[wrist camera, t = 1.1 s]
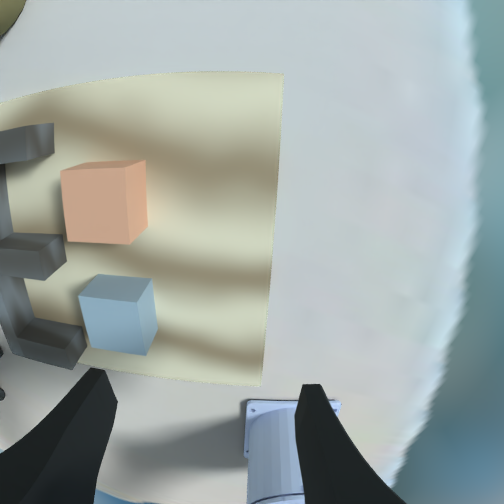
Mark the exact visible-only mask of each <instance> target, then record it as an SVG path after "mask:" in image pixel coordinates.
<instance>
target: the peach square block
mask: <svg viewBox="0 0 504 504" xmlns="http://www.w3.org/2000/svg"><path fill="white" fill-rule="evenodd" d="M60 177H61V190H62V200H63V209H64V218H65V225H66V233H67V239H68V241H70V242H89V243H107V244H126V245H130V244H131V243H132V242H133V241H134V240H135V239H136V238H137V237H138V236H139V235H140V234H141V233H142V232H143V231H144V230H145V229H146V228H147V227H148V218H147V197H146V160H123V161H100V162H86V163H82V164H79V165H76V166H73V167H70V168H67V169H64V170H61V171H60Z"/></svg>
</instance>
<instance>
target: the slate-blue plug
mask: <svg viewBox="0 0 504 504" xmlns="http://www.w3.org/2000/svg"><path fill="white" fill-rule="evenodd" d="M78 297H79V302H80V306H81V310H82V314H83V318H84V322H85V326H86V330H87V333H88V337H89V341H90V344H91V347H93V348H98V349H104V350H110V351H116V352H122V353H129V354H135V355H142V356H146V355H147V353H148V350H149V348H150V346H151V343H152V341H153V339H154V337H155V334H156V332H157V330H158V325H157V317H156V309H155V301H154V292H153V282H152V278H141V277H128V276H117V275H105V274H98V275H97V276H96V277H95V278H94V279H93V280H92V281H91V282H90V283H89V284H88V285H87V286H86V288H85V289H84V290H83V291H82V292H81V293H80V294H79V295H78Z"/></svg>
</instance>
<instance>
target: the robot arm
mask: <svg viewBox="0 0 504 504" xmlns="http://www.w3.org/2000/svg"><path fill="white" fill-rule="evenodd" d="M117 403H118V401H117V399H116V397H115V394H114V392H113V389H112V387H111V384H110V382H109V379H108V377H107V374H106V372H105V370H101V369H95V368H90V369H89V370H88V371H87V372H86V373H85V374H84V375H83V377H82V378H81V379H80V380H79V381H78V382H77V383H76V385H75V386H74V387H73V388H72V389H71V390H70V391H69V393H68V394H67V395H66V396H65V397H64V398H63V399H62V400H61V401H60V402H59V403H58V405H57V406H56V407H55V408H54V409H53V410H52V411H51V412H50V413H49V414H48V415H47V416H46V417H45V418H44V419H43V420H42V421H41V422H40V423H39V424H38V425H37V426H36V427H35V428H33V429H32V430H31V431H30V432H29V433H28V434H26V435H25V436H24V437H23V438H22V439H20V440H19V441H18V442H16V443H15V444H14V445H12V446H11V447H10V448H8V449H7V450H5V451H4V452H2V453H0V504H93V503H94V495H95V489H96V482H97V477H98V473H99V469H100V466H101V462H102V459H103V456H104V453H105V450H106V446H107V443H108V440H109V437H110V434H111V431H112V428H113V424H114V419H115V414H116V409H117ZM340 408H341V402H340V401H329V400H328V398H327V396H326V394H325V392H324V390H323V388H322V386H321V385H320V384H303V385H302V389H301V393H300V396H299V400H298V401H262V400H250V401H248V402H247V407H246V424H245V440H244V457H245V458H248V482H247V504H406V503H405V502H404V501H403V500H402V499H401V498H400V497H399V496H398V495H397V494H396V493H395V492H393V491H392V490H391V489H390V488H389V487H388V486H387V485H386V484H385V483H384V482H383V480H382V479H381V478H380V477H379V476H378V475H377V474H376V473H375V471H374V470H373V469H372V468H371V467H370V465H369V464H368V463H367V462H366V460H365V459H364V458H363V456H362V455H361V454H360V452H359V451H358V449H357V448H356V446H355V445H354V444H353V442H352V440H351V439H350V437H349V436H348V434H347V433H346V431H345V429H344V428H343V426H342V424H341V423H340V421H339V419H338V417H337V416H338V414H339V411H340Z"/></svg>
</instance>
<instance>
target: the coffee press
mask: <svg viewBox="0 0 504 504" xmlns="http://www.w3.org/2000/svg"><path fill="white" fill-rule="evenodd" d="M2 355H3V352H2V350H1V348H0V358H1V357H2ZM4 398H5V393H4V391H3V390H2V389H0V401H1V400H4Z"/></svg>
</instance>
